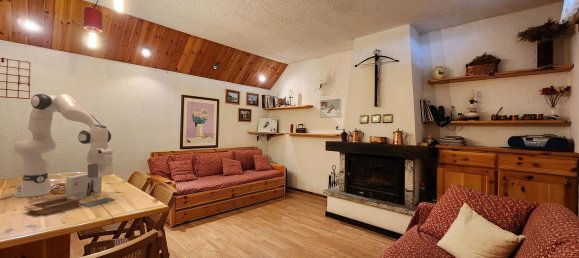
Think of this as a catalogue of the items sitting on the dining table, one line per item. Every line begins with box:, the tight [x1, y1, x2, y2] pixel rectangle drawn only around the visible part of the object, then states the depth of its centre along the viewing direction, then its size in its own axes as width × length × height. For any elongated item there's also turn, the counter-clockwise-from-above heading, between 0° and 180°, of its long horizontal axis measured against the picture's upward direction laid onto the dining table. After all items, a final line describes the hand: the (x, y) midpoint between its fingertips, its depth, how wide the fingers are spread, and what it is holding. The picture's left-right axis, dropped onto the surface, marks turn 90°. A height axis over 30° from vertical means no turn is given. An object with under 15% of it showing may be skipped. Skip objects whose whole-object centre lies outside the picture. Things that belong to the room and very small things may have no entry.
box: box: [87, 162, 114, 178], centre depth 161 cm, size 5×12×8 cm, turn 158°
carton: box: [23, 193, 85, 216], centre depth 147 cm, size 19×23×5 cm
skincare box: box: [65, 172, 103, 199], centre depth 170 cm, size 21×5×16 cm, turn 168°
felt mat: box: [79, 197, 116, 208], centre depth 160 cm, size 9×16×1 cm, turn 158°
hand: (98, 171), depth 160 cm, fingers closed on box, 5 cm apart
